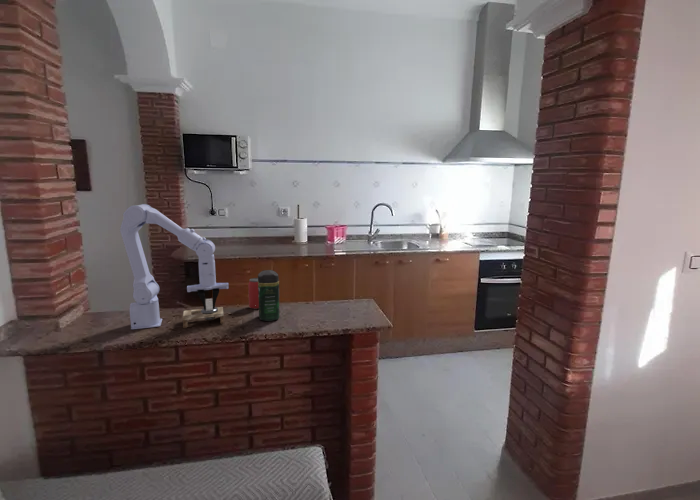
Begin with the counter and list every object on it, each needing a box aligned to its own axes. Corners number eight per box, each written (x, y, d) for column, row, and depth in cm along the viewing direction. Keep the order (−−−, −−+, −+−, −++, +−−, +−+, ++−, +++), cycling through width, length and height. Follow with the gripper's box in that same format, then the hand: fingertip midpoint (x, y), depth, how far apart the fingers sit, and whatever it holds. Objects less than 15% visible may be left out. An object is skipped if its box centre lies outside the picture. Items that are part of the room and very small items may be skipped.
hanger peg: (201, 322, 144) (200, 303, 142) (201, 316, 149) (200, 298, 148) (218, 320, 146) (217, 301, 144) (218, 315, 151) (217, 297, 150)
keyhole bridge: (183, 328, 141) (182, 317, 140) (184, 320, 148) (183, 310, 148) (223, 323, 146) (223, 313, 145) (223, 316, 153) (222, 306, 152)
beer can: (246, 306, 166) (245, 279, 164) (261, 303, 170) (260, 276, 168) (252, 310, 161) (251, 282, 158) (267, 307, 164) (266, 279, 162)
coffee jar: (280, 321, 149) (279, 273, 145) (259, 322, 147) (257, 274, 143) (278, 312, 158) (277, 268, 155) (258, 314, 156) (256, 269, 153)
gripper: (185, 277, 138) (188, 313, 141) (228, 274, 143) (230, 309, 145) (186, 273, 145) (189, 308, 147) (227, 270, 150) (229, 304, 152)
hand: (209, 308), depth 147 cm, fingers closed on hanger peg, 2 cm apart
